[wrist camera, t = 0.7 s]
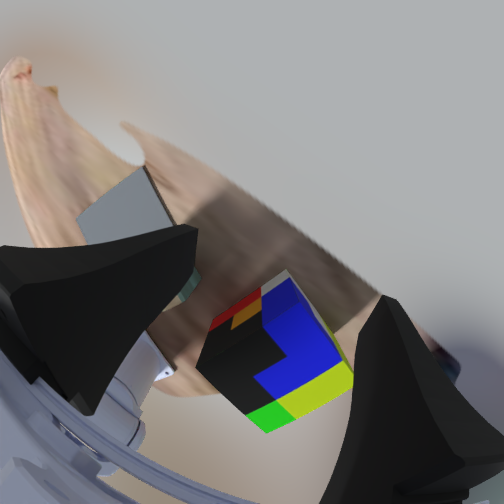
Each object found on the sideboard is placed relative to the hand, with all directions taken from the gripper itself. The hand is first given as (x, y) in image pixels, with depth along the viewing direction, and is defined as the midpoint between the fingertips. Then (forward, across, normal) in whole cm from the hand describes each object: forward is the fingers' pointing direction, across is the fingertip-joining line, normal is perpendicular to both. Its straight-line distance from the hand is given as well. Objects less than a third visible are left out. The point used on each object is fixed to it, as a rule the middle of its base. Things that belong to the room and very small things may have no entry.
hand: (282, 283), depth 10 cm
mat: (+13, +19, +9) cm, 25 cm away
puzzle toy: (+15, 0, +17) cm, 22 cm away
